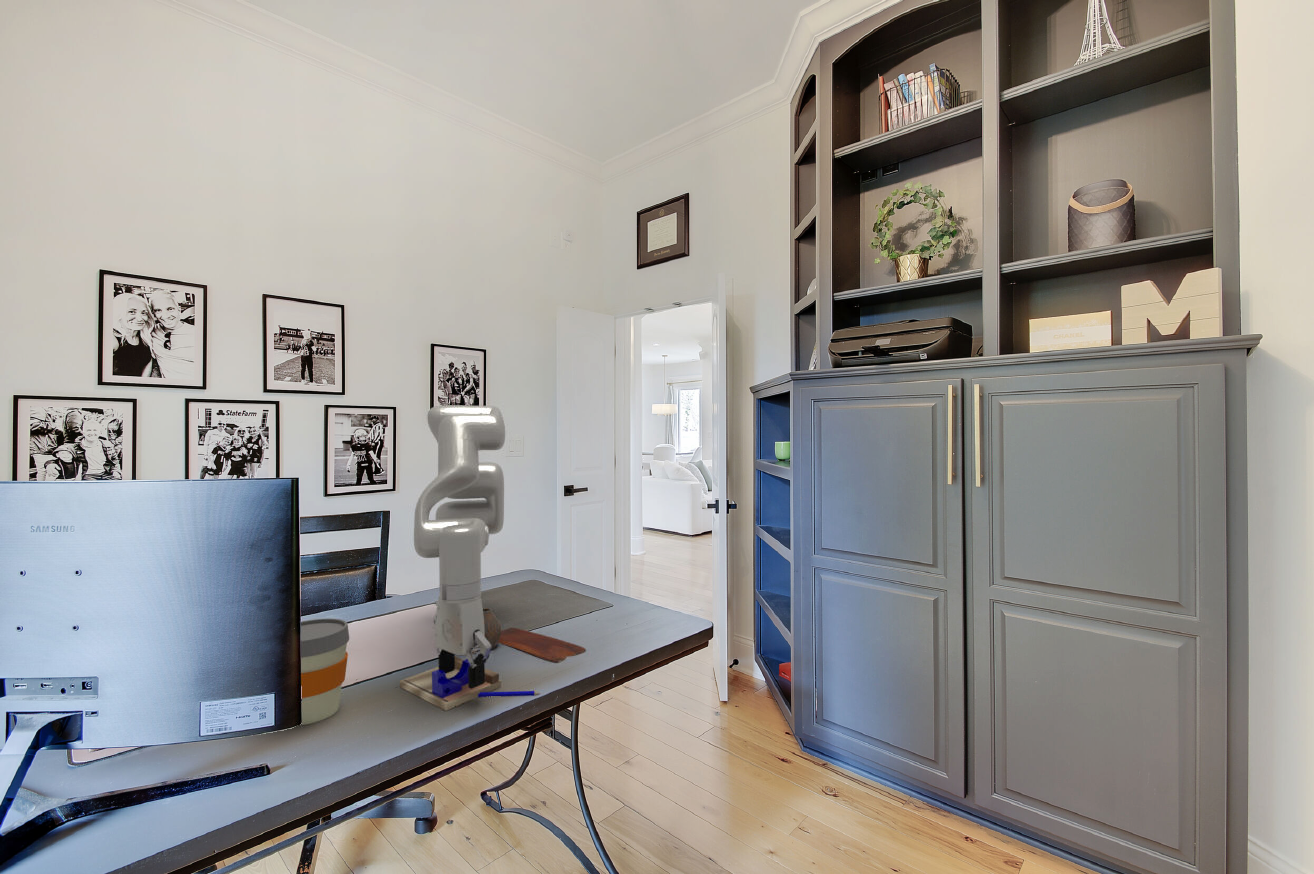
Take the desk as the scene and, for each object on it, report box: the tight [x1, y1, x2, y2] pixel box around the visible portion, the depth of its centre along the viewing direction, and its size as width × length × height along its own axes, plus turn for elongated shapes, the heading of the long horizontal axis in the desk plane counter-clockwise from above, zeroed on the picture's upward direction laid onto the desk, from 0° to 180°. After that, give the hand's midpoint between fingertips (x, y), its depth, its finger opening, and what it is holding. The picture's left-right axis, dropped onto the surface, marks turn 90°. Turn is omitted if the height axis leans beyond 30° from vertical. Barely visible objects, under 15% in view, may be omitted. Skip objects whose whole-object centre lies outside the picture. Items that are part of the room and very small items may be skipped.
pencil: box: [477, 690, 541, 698], centre depth 109 cm, size 17×1×1 cm, turn 93°
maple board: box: [399, 655, 502, 712], centre depth 112 cm, size 16×12×3 cm
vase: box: [483, 607, 502, 650], centre depth 133 cm, size 7×7×9 cm
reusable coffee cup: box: [300, 618, 350, 726], centre depth 102 cm, size 13×13×15 cm
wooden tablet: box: [498, 627, 587, 664], centre depth 135 cm, size 27×10×2 cm, turn 52°
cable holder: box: [432, 658, 471, 698], centre depth 109 cm, size 8×4×4 cm, turn 142°
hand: (461, 678), depth 109 cm, fingers open, 9 cm apart
